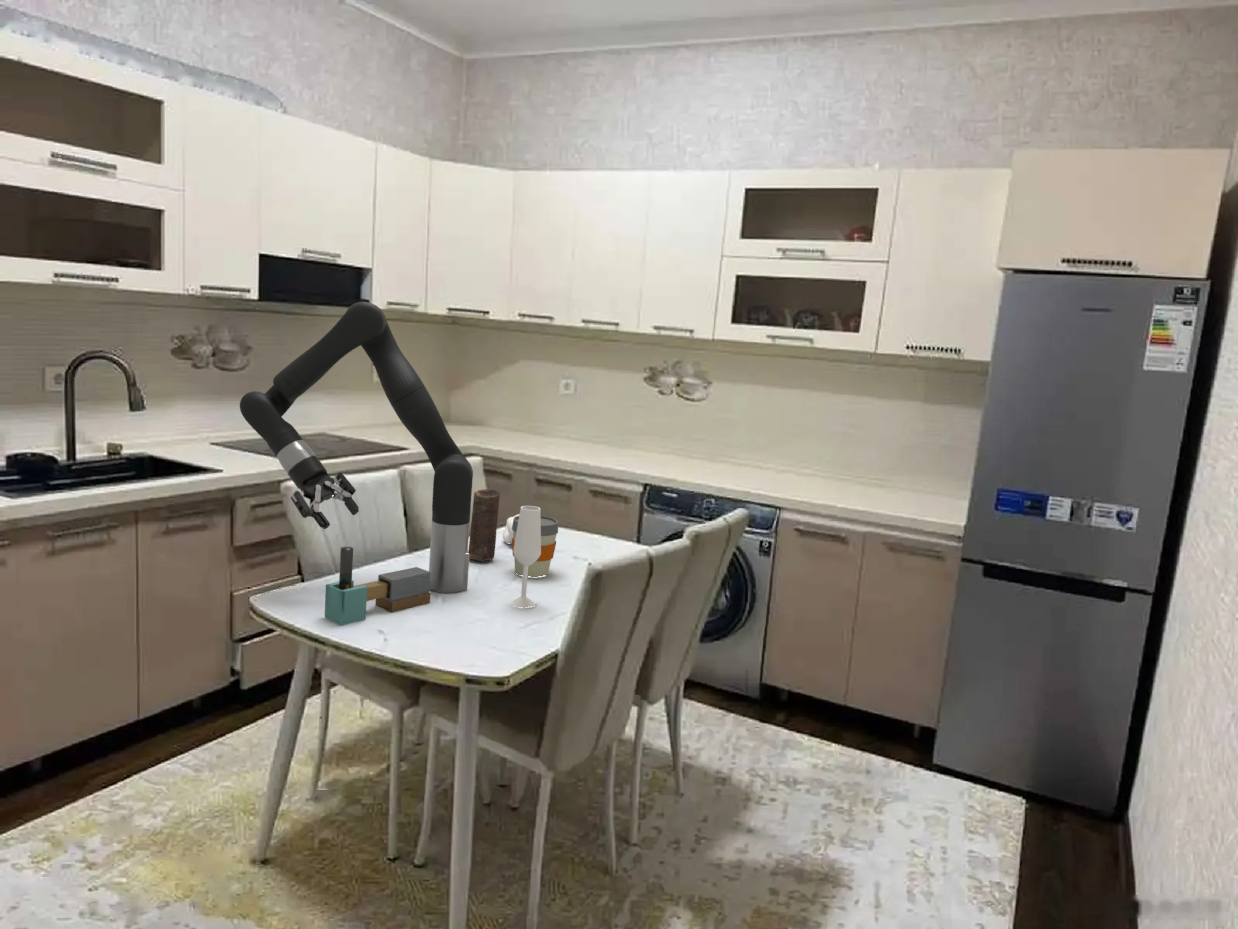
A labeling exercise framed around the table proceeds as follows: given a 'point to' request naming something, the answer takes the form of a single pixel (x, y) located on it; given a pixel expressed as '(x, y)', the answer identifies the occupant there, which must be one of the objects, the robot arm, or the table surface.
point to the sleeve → (405, 589)
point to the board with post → (373, 588)
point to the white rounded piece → (509, 530)
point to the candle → (484, 525)
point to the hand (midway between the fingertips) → (342, 520)
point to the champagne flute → (527, 547)
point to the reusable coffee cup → (547, 547)
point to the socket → (345, 603)
